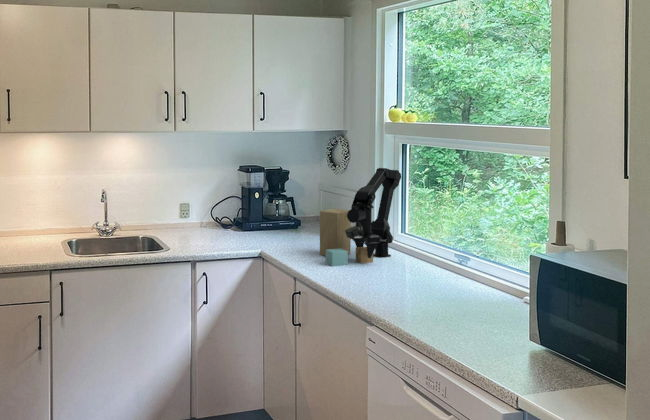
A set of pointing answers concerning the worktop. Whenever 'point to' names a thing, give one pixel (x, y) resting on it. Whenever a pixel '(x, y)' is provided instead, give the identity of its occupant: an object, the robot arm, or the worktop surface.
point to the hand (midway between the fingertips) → (364, 256)
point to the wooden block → (334, 230)
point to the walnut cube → (363, 255)
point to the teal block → (336, 257)
